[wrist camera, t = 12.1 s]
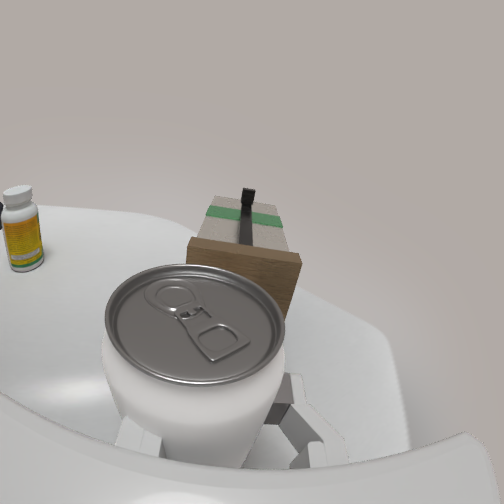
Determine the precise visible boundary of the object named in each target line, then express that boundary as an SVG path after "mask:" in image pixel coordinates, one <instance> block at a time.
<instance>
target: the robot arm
mask: <svg viewBox="0 0 504 504" xmlns="http://www.w3.org/2000/svg"><path fill="white" fill-rule="evenodd" d="M263 424H271V425H279V427H280V429H281V430H282V431H283V433H284V434H285V436H286V437H287V438H288V440H289V441H290V442H291V444H292V445H293V446H294V448H295V449H296V451H297V452H298V453H299V454H298V456H297V457H296V458H295V459H294V460H293V461H292V462H291V463H290V469H240V468H227V467H216V466H207V465H200V464H193V463H187V462H181V461H175V460H170V459H167V457H166V453H165V449H164V445H163V440H162V438H161V437H159V436H156V435H154V434H152V433H150V432H148V431H146V430H144V429H143V428H142V427H140V426H139V425H137V424H136V423H135V422H133V421H132V420H131V419H130V418H129V417H128V416H125V417H124V418H123V419H122V422H121V425H120V428H119V432H118V435H117V438H116V442H115V445H112V444H109V443H106V442H103V441H100V440H97V439H95V438H92V437H89V436H87V435H84V434H82V433H79V432H77V431H74V430H72V429H69V428H67V427H65V426H63V425H60V424H58V423H56V422H54V421H52V420H50V419H48V418H46V417H44V416H42V415H40V414H38V413H36V412H34V411H32V410H30V409H29V408H27V407H25V406H23V405H22V404H20V403H18V402H16V401H15V400H13V399H11V398H10V397H8V396H7V395H5V394H3V393H2V392H0V504H501V500H500V494H499V489H498V485H497V480H496V476H495V472H494V469H493V466H492V462H491V459H490V456H489V454H488V451H487V449H486V447H485V445H484V444H483V443H482V442H481V441H480V440H479V439H477V438H476V437H474V436H473V435H472V434H470V433H468V432H461V433H459V434H456V435H454V436H451V437H449V438H446V439H443V440H441V441H438V442H435V443H432V444H429V445H426V446H423V447H420V448H416V449H413V450H409V451H406V452H402V453H398V454H395V455H390V456H386V457H382V458H377V459H372V460H367V461H362V462H356V463H349V458H348V454H347V449H346V445H345V440H344V438H343V437H342V436H341V435H340V434H339V433H338V432H337V431H336V430H335V429H334V428H333V427H332V426H331V425H330V424H329V423H328V422H327V421H326V420H325V419H324V418H323V417H322V416H321V415H320V414H319V413H318V412H317V411H316V410H315V409H314V408H313V407H312V406H311V405H310V404H307V401H306V396H305V390H304V385H303V379H302V375H301V374H298V373H284V374H283V378H282V382H281V384H280V387H279V390H278V392H277V395H276V397H275V399H274V402H273V404H272V406H271V408H270V411H269V413H268V415H267V417H266V419H265V421H264V423H263Z"/></svg>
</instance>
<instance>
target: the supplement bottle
mask: <svg viewBox="0 0 504 504" xmlns="http://www.w3.org/2000/svg"><path fill="white" fill-rule="evenodd" d="M3 199H4V205H5V206H6V207H5V208H4V209H3V211H2V213H1V222H2V229H3V235H4V240H5V245H6V251H7V255H8V260H9V264H10V266H11V268H12V269H13V270H15V271H20V272H26V271H30V270H32V269H34V268H36V267H38V266H39V265H40V264H41V263H42V261H43V258H44V253H43V247H42V241H41V233H40V225H39V216H38V208H37V205H36V204H35V203H34V202H32V201H30V200H31V199H32V187H31V186H30V185H21V186H16V187H12V188H10V189H7V190H6V191H4V193H3Z"/></svg>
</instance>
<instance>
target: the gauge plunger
mask: <svg viewBox="0 0 504 504" xmlns="http://www.w3.org/2000/svg"><path fill="white" fill-rule="evenodd" d="M254 196H255V190H253V189H248V188H243V191H242V197H241V203H242V204H241V211H240V222H239V234H238V244H236V243H229V242H223V241H216V240H210V239H204V238H197V237H191V239H190V241H189V244H188V246H187V257H186V264H198V265H206V266H212V267H217V268H221V269H224V270H228V271H231V272H234V273H236V274H239V275H241V276H243V277H245V278H247V279H249V280H251V281H253V282H254V283H256V284H257V285H259V286H260V287H261V288H263V289H264V290H265V291H266V292H267V293H268V294H269V295H270V296H271V297H272V298H273V299H274V300H275V302H276V303H277V304H278V306H279V308H280V310H281V312H282V314H283V318H284V321H285V318H286V315H287V312H288V309H289V306H290V302H291V299H292V296H293V293H294V290H295V286H296V283H297V280H298V277H299V273H300V269H301V266H302V261H301V259H300V256H299V253H293V252H287V251H280V250H274V249H268V248H261V247H255V246H253V232H252V205H253V201H254Z"/></svg>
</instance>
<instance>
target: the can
mask: <svg viewBox="0 0 504 504" xmlns="http://www.w3.org/2000/svg"><path fill="white" fill-rule="evenodd" d="M105 327H106V330H105V333H104V336H103V341H102V361H103V367H104V371H105V375H106V378H107V381H108V384H109V387H110V390H111V393H112V396H113V398H114V401H115V403H116V406H117V408H118V411H119V413H120V416H121V418H122V419H123V418H124V417H125V416H128V417H129V418H130V419H131V420H132V421H133V422H135V423H136V424H137V425H139V426H140V427H142V428H143V429H144V430H146V431H148V432H150V433H152V434H154V435H156V436H159V437H161V438H162V440H163V445H164V449H165V453H166V457H167V459H170V460H175V461H181V462H187V463H193V464H200V465H207V466H216V467H227V468H241V466H242V464H243V462H244V461H245V459H246V457H247V455H248V453H249V451H250V449H251V447H252V446H253V444H254V442H255V440H256V438H257V436H258V434H259V432H260V430H261V428H262V425H263V423H264V421H265V419H266V417H267V415H268V413H269V411H270V408H271V406H272V404H273V402H274V399H275V397H276V395H277V392H278V390H279V387H280V384H281V382H282V378H283V374H284V369H285V353H284V348H283V340H284V336H285V322H284V318H283V314H282V312H281V310H280V308H279V306H278V304H277V303H276V302H275V300H274V299H273V298H272V297H271V296H270V295H269V294H268V293H267V292H266V291H265V290H264V289H263V288H261V287H260V286H259V285H257V284H256V283H254V282H253V281H251V280H249V279H247V278H245V277H243V276H241V275H239V274H236V273H234V272H231V271H228V270H224V269H221V268H217V267H212V266H206V265H198V264H172V265H165V266H159V267H155V268H151V269H148V270H145V271H142V272H140V273H138V274H136V275H134V276H132V277H130V278H129V279H127V280H126V281H124V282H123V283H122V284H121V285H120V286H119V287H118V288H117V289H116V290H115V291H114V292H113V294H112V295H111V297H110V299H109V301H108V303H107V306H106V310H105Z"/></svg>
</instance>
